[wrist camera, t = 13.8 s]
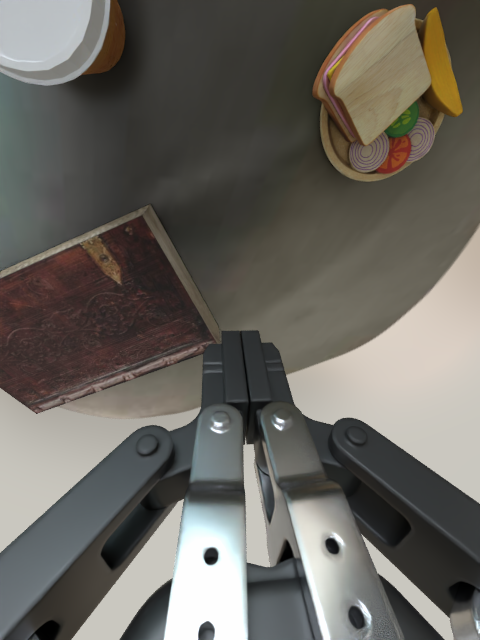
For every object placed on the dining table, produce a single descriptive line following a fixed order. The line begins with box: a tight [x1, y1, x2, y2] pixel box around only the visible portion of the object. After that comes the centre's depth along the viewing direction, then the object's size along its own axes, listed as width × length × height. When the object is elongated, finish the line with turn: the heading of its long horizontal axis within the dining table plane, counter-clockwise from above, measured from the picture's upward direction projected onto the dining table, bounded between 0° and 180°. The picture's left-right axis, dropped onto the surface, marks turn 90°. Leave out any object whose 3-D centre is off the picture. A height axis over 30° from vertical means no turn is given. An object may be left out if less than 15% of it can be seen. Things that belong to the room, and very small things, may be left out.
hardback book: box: [0, 204, 220, 414], centre depth 37 cm, size 29×19×5 cm, turn 111°
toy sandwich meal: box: [312, 4, 463, 182], centre depth 26 cm, size 12×14×5 cm
